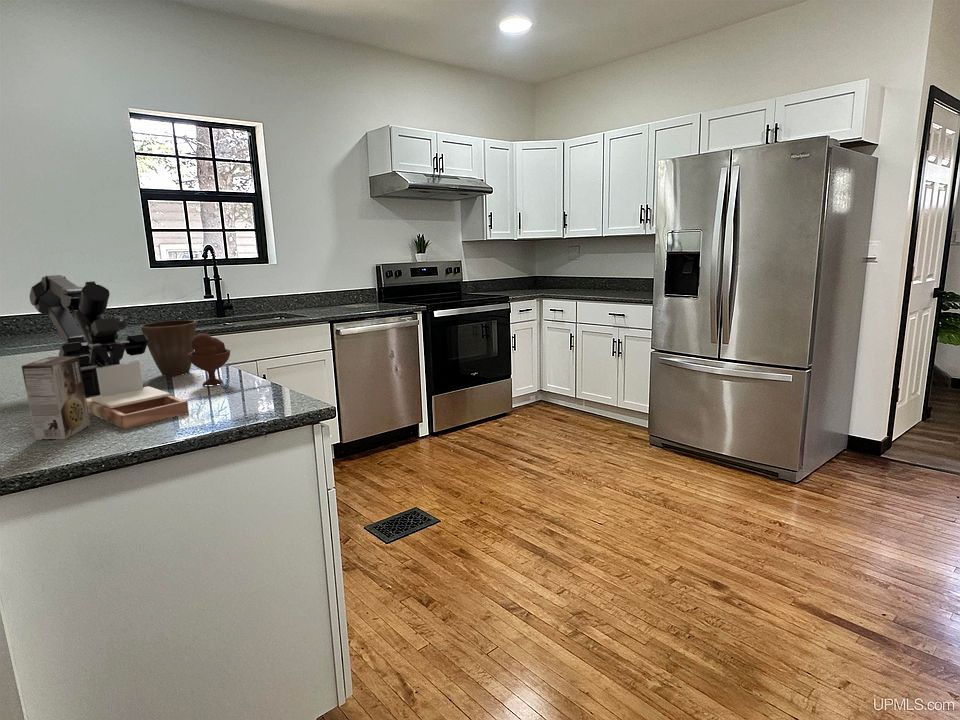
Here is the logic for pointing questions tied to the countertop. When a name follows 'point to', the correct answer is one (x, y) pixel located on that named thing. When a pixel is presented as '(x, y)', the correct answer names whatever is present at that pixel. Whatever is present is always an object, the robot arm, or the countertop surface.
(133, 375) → the white l-shaped piece
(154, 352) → the plant pot
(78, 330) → the robot arm
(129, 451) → the countertop surface
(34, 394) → the coffee box
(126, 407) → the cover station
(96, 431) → the countertop surface
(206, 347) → the ice cream bowl
